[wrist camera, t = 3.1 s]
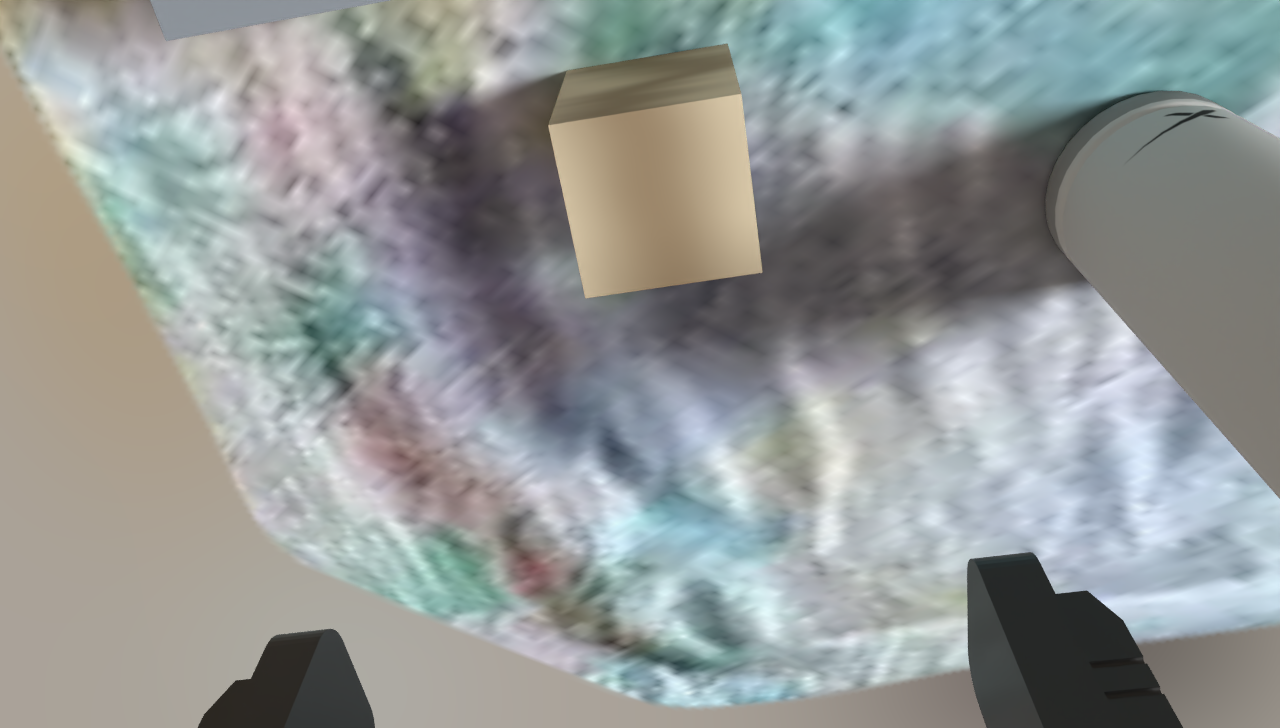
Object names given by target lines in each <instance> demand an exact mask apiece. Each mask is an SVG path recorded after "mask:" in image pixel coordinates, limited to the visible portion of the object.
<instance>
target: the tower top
mask: <svg viewBox="0 0 1280 728" xmlns="http://www.w3.org/2000/svg"><path fill="white" fill-rule="evenodd" d="M150 1H151V4H152V6H153V9H154V12H155V14H156V17H157V19H158V22H159V24H160V27H161V30H162V32H163V35H164V37H165V40H166V41H169V40H175V39H180V38H186V37H191V36H197V35H202V34H208V33H213V32H219V31H224V30H230V29H235V28H241V27H246V26H252V25H257V24H263V23H268V22H274V21H279V20H285V19H290V18H296V17H301V16H307V15H312V14H318V13H323V12H329V11H334V10H340V9H345V8H351V7H356V6H362V5H367V4H373V3H378V2H384V1H389V0H150Z"/></svg>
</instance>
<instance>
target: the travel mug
mask: <svg viewBox="0 0 1280 728" xmlns="http://www.w3.org/2000/svg"><path fill="white" fill-rule="evenodd" d="M1045 206H1046V219H1047V223H1048V227H1049V231H1050V233H1051V235H1052V237H1053V239H1054V241H1055V243H1056V245H1057V246H1058V247H1059V249H1060V250H1061V251H1062V252H1063V253H1064V254H1065V255H1066V257H1067V258H1068V259H1069V260H1070V261H1071V262H1072V263H1073V265H1074V266H1075V267H1076V268H1077V269H1078V270H1079V271H1080V272H1081V274H1082V275H1083V276H1084V277H1085V278H1086V279H1087V280H1088V282H1089V283H1090V284H1091V285H1092V286H1093V287H1094V288H1095V290H1096V291H1097V292H1098V293H1099V294H1100V295H1101V296H1102V297H1103V299H1104V300H1105V301H1106V302H1107V303H1108V304H1109V305H1110V307H1111V308H1112V309H1113V310H1114V311H1115V312H1116V313H1117V314H1118V316H1119V317H1120V318H1121V319H1122V320H1123V321H1124V322H1125V324H1126V325H1127V326H1128V327H1129V328H1130V329H1131V330H1132V332H1133V333H1134V334H1135V335H1136V336H1137V337H1138V338H1139V339H1140V341H1141V342H1142V343H1143V344H1144V345H1145V346H1146V347H1147V349H1148V350H1149V351H1150V352H1151V353H1152V354H1153V355H1154V356H1155V358H1156V359H1157V360H1158V361H1159V362H1160V363H1161V364H1162V366H1163V367H1164V368H1165V369H1166V370H1167V371H1168V372H1169V373H1170V375H1171V376H1172V377H1173V378H1174V379H1175V380H1176V381H1177V383H1178V384H1179V385H1180V386H1181V387H1182V388H1183V389H1184V391H1185V392H1186V393H1187V394H1188V395H1189V396H1190V397H1191V398H1192V400H1193V401H1194V402H1195V403H1196V404H1197V405H1198V406H1199V408H1200V409H1201V410H1202V411H1203V412H1204V413H1205V414H1206V415H1207V417H1208V418H1209V419H1210V420H1211V421H1212V422H1213V423H1214V425H1215V426H1216V427H1217V428H1218V429H1219V430H1220V431H1221V432H1222V434H1223V435H1224V436H1225V437H1226V438H1227V439H1228V440H1229V442H1230V443H1231V444H1232V445H1233V446H1234V447H1235V448H1236V450H1237V451H1238V452H1239V453H1240V454H1241V455H1242V456H1243V457H1244V459H1245V460H1246V461H1247V462H1248V463H1249V464H1250V465H1251V467H1252V468H1253V469H1254V470H1255V471H1256V472H1257V473H1258V474H1259V476H1260V477H1261V478H1262V479H1263V480H1264V481H1265V482H1266V484H1267V485H1268V486H1269V487H1270V488H1271V489H1272V490H1273V491H1274V493H1275V494H1276V495H1277V496H1278V497H1279V498H1280V138H1278V137H1276V136H1274V135H1273V134H1271V133H1269V132H1267V131H1265V130H1264V129H1262V128H1260V127H1258V126H1256V125H1255V124H1253V123H1251V122H1249V121H1247V120H1246V119H1244V118H1242V117H1240V116H1238V115H1236V114H1234V113H1233V112H1231V111H1229V110H1227V109H1226V108H1224V107H1222V106H1220V105H1218V104H1217V103H1215V102H1213V101H1210V100H1208V99H1206V98H1204V97H1202V96H1199V95H1196V94H1192V93H1187V92H1182V91H1156V92H1151V93H1146V94H1141V95H1137V96H1134V97H1132V98H1129V99H1126V100H1124V101H1121V102H1118V103H1116V104H1115V105H1113V106H1111V107H1110V108H1108V109H1106V110H1104V111H1103V112H1101V113H1099V114H1098V115H1097V116H1095V117H1094V118H1093V119H1092V120H1090V121H1089V122H1088V123H1087V124H1086V125H1084V126H1083V127H1082V128H1081V129H1080V130H1079V131H1078V132H1077V133H1076V135H1075V136H1074V137H1073V138H1072V139H1071V140H1070V141H1069V142H1068V144H1067V145H1066V147H1065V148H1064V150H1063V151H1062V153H1061V155H1060V156H1059V158H1058V159H1057V161H1056V163H1055V166H1054V168H1053V171H1052V173H1051V176H1050V178H1049V182H1048V187H1047V192H1046V197H1045Z"/></svg>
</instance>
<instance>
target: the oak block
mask: <svg viewBox="0 0 1280 728" xmlns="http://www.w3.org/2000/svg"><path fill="white" fill-rule="evenodd" d="M548 127H549V132H550V136H551V141H552V146H553V150H554V155H555V160H556V164H557V169H558V173H559V178H560V183H561V187H562V192H563V197H564V201H565V206H566V211H567V215H568V220H569V224H570V229H571V234H572V238H573V243H574V248H575V252H576V257H577V262H578V266H579V271H580V275H581V280H582V285H583V289H584V294H585V298H592V297H598V296H605V295H612V294H619V293H626V292H633V291H640V290H647V289H653V288H660V287H667V286H674V285H681V284H688V283H695V282H702V281H708V280H715V279H722V278H729V277H736V276H743V275H750V274H756V273H763V272H762V264H761V255H760V247H759V239H758V230H757V222H756V213H755V205H754V197H753V188H752V180H751V172H750V163H749V155H748V146H747V138H746V130H745V121H744V113H743V105H742V96H741V91H740V88H739V84H738V80H737V76H736V73H735V69H734V65H733V62H732V58H731V54H730V51H729V47H728V44H723V45H717V46H711V47H705V48H699V49H693V50H687V51H681V52H675V53H669V54H663V55H657V56H651V57H645V58H639V59H633V60H628V61H622V62H616V63H610V64H604V65H598V66H592V67H586V68H580V69H574V70H568V71H567V72H566V75H565V77H564V80H563V83H562V86H561V89H560V92H559V95H558V98H557V101H556V104H555V107H554V110H553V113H552V115H551V118H550V121H549V124H548Z"/></svg>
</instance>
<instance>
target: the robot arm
mask: <svg viewBox="0 0 1280 728" xmlns="http://www.w3.org/2000/svg"><path fill="white" fill-rule="evenodd" d="M967 596H968V656H969V665H970V671H971V677H972V681H973V685H974V690H975V694H976V698H977V700H978V703H979V707H980V710H981V713H982V715H983V718H984V721H985V724H986V727H987V728H1183V727H1182V725H1181V723H1180V721H1179V720H1178V718H1177V716H1176V714H1175V713H1174V711H1173V709H1172V708H1171V705H1170V704H1169V702H1168V700H1167V699H1166V696H1165V695H1164V694H1162V693H1161V691H1160V686H1159V684H1158V682H1157V680H1156V679H1155V677H1154V675H1153V674H1152V672H1151V670H1150V668H1149V666H1148V665H1147V664H1145V663H1144V661H1143V655H1142V654H1141V652H1140V650H1139V648H1138V646H1137V645H1136V643H1135V641H1134V639H1133V637H1132V636H1131V634H1130V632H1129V630H1128V629H1127V627H1126V625H1125V623H1124V621H1123V620H1122V619H1121V618H1120V617H1118V616H1117V615H1116V614H1115V613H1114V612H1112V611H1111V610H1110V609H1109V608H1107V607H1106V606H1105V605H1104V604H1103V603H1101V602H1100V601H1099V600H1098V599H1097V598H1095V597H1094V596H1093V595H1092V594H1090V593H1089V592H1088V591H1079V592H1070V593H1061V594H1055V592H1054V590H1053V588H1052V586H1051V584H1050V582H1049V580H1048V578H1047V576H1046V574H1045V572H1044V570H1043V568H1042V566H1041V564H1040V562H1039V560H1038V558H1037V557H1036V556H1035V554H1033V553H1031V552H1028V553H1019V554H1010V555H1002V556H993V557H984V558H975V559H970V560H969V562H968V568H967ZM198 728H375V724H374V717H373V713H372V710H371V707H370V704H369V702H368V700H367V697H366V695H365V692H364V690H363V688H362V685H361V683H360V681H359V678H358V676H357V673H356V671H355V669H354V666H353V664H352V661H351V659H350V657H349V654H348V652H347V650H346V647H345V645H344V642H343V640H342V638H341V636H340V635H339V633H338V632H337V631H336V630H333V629H325V630H316V631H308V632H298V633H290V634H281V635H276V636H274V637H273V638H271V640H270V641H269V642H268V644H267V646H266V648H265V650H264V652H263V654H262V656H261V658H260V660H259V663H258V665H257V667H256V669H255V671H254V673H253V676H252V678H251V679H246V680H237V681H235V682H234V683H233V684H232V685H231V686H230V687H229V688H228V689H227V691H226V692H225V693H224V694H223V695H222V696H221V697H220V698H219V699H218V700H217V701H216V702H215V704H213V706H212V707H211V708H210V709H209V710H208V711H207V712H206V713H205V714H204V716H203V718H202V720H201V722H200V724H199V726H198Z"/></svg>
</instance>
